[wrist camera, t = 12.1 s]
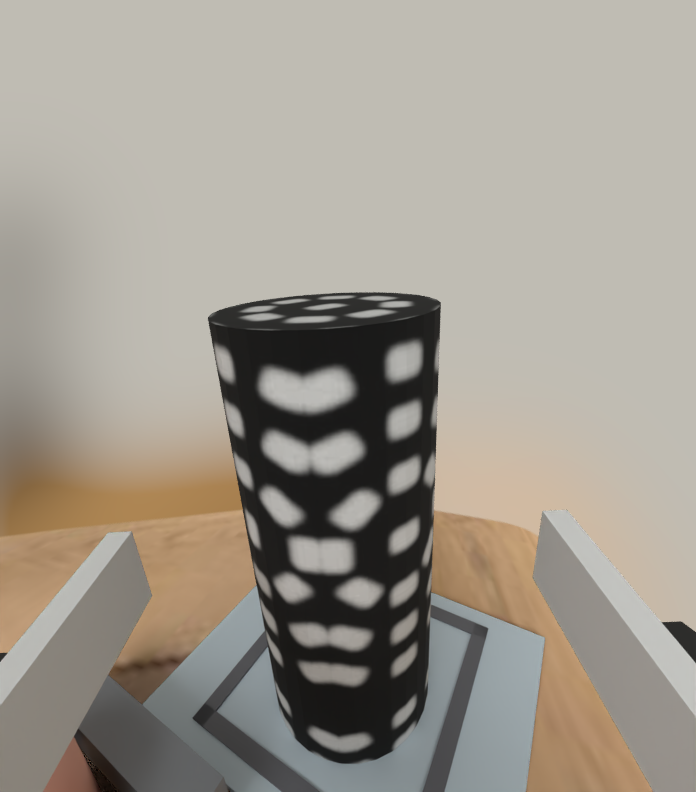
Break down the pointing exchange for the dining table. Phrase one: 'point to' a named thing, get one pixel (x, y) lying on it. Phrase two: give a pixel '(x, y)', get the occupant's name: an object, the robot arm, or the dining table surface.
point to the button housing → (140, 748)
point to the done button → (72, 773)
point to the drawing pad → (396, 771)
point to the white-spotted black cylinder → (338, 504)
